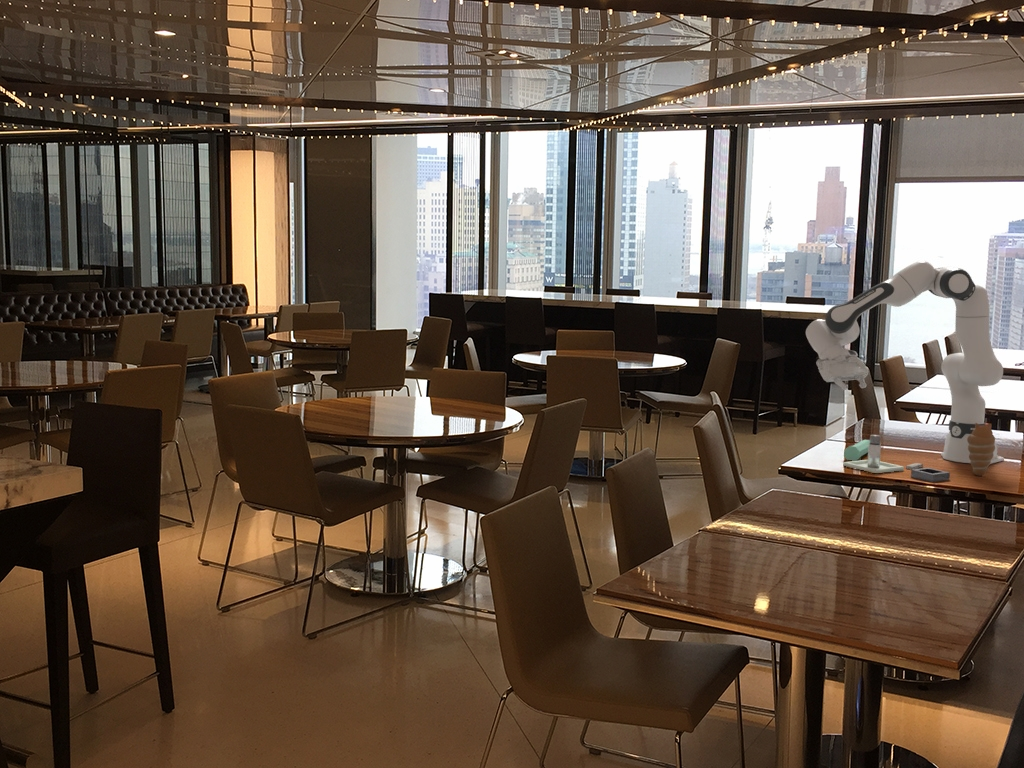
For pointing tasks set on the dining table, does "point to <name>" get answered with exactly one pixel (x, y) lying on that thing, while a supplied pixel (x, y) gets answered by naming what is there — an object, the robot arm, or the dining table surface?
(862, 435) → the dining table surface
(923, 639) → the dining table surface
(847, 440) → the dining table surface
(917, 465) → the drift key
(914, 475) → the socket collar
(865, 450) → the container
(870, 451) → the grey capped bottle
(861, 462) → the tray
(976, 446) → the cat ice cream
